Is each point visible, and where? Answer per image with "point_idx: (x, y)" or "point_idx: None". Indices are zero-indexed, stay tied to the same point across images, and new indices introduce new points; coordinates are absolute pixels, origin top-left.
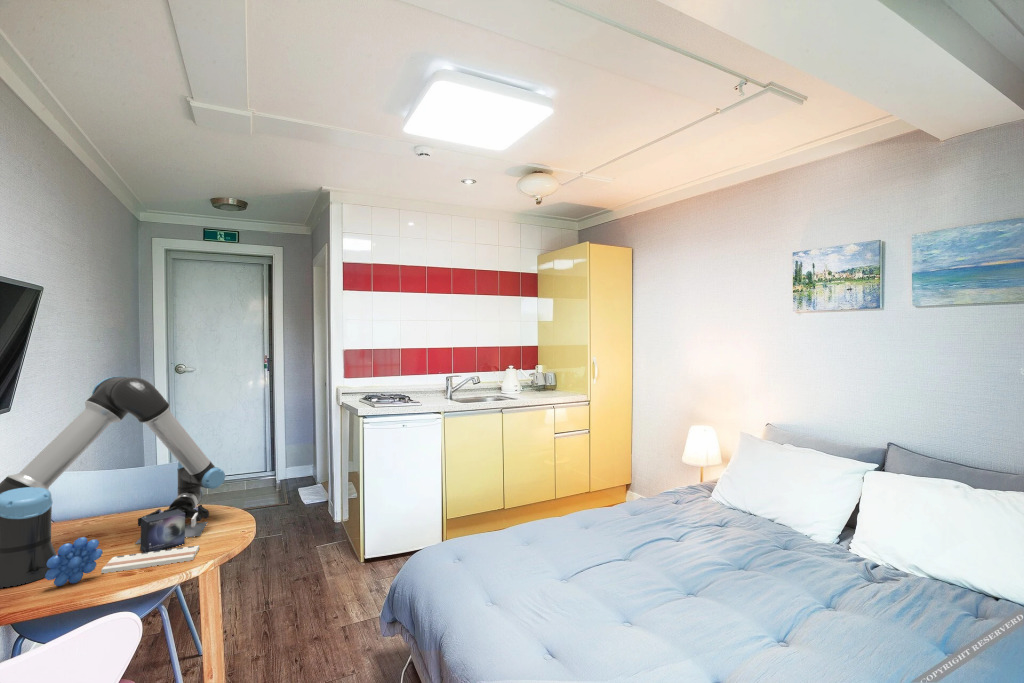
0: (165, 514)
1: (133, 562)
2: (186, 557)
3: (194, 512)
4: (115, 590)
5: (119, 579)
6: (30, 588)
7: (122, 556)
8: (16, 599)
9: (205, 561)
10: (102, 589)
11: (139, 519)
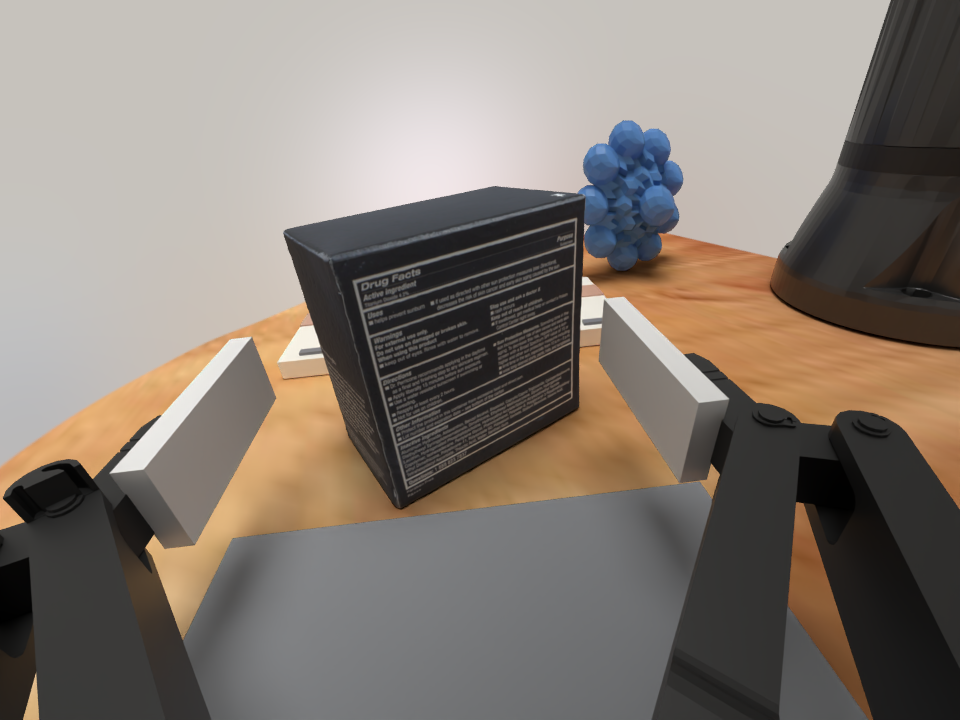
0: (423, 209)
1: None
2: None
3: (124, 562)
4: None
5: None
6: (729, 263)
7: (586, 320)
8: (697, 244)
9: (281, 313)
10: None
11: (846, 416)
